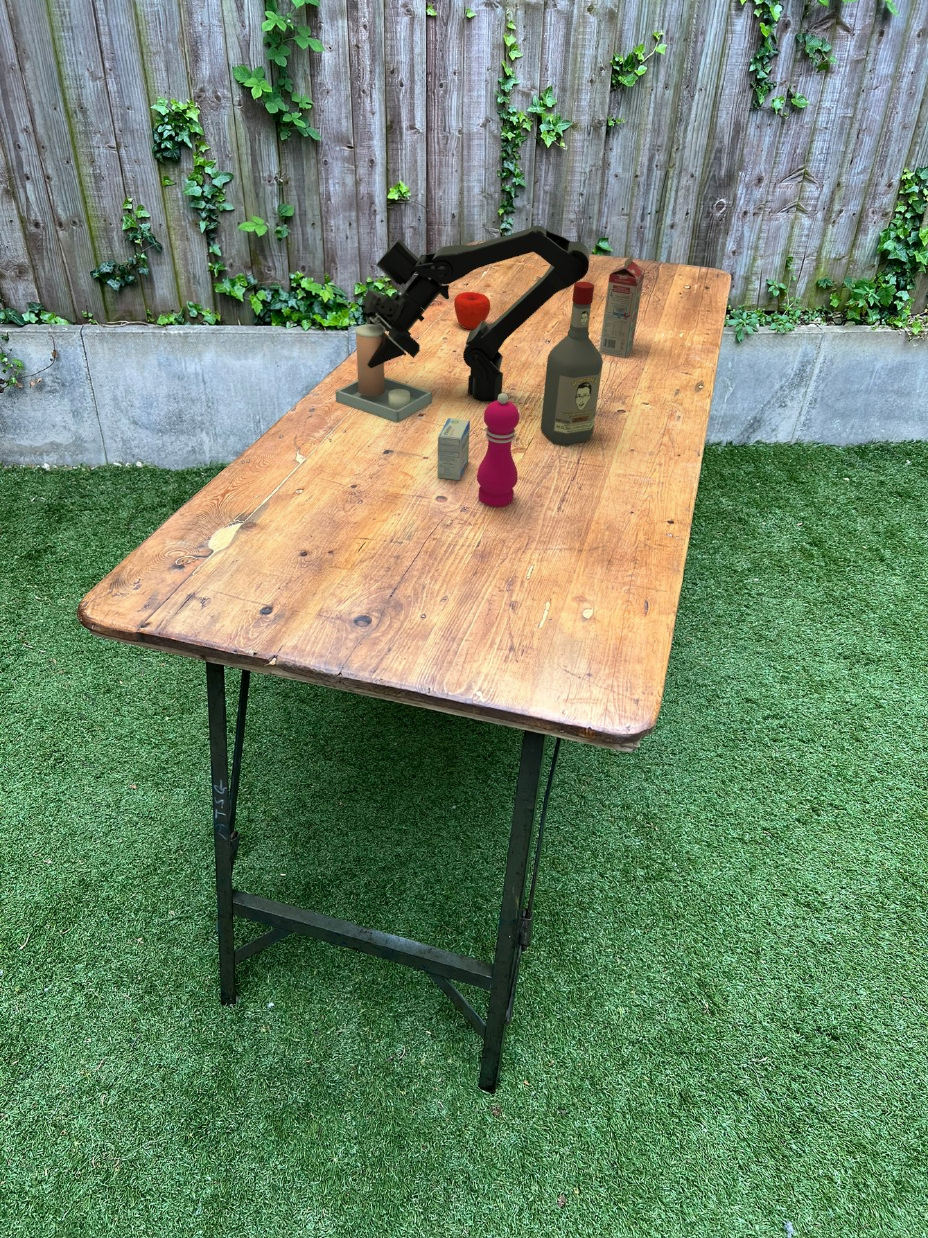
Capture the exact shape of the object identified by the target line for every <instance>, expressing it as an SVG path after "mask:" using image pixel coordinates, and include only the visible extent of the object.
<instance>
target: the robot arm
mask: <svg viewBox="0 0 928 1238" xmlns="http://www.w3.org/2000/svg"><path fill="white" fill-rule="evenodd" d="M530 253H531V254H532V253H534V254H536V255H537V256H539V257H541V258H542V259H543V260H544V261H545V262H546V263H548V264H549V265H550V266H548V268H547V270H546V272H545V273H544V274H543V275H542V277H540V278H539V279H538V280H537V281H536V282H535V283H534V284H533V285H532V286H531V287H530V288H528V290H526V291H525V292H524V293H523V294H522V295H521V296H520V297H519V298H518V299H517V300H516V301H515V302H514V303H513V304H512V305H511V306H510V307H508V308H507V310H505V312H503V313H502V314H500V316H499V317H498V318H497V319H495V321H493V322H491V323H489V324H486V322H485V321H483V320H482V321H481V323H480V324H479V325H478V327H477V328H476V329H473V330H471V331H469V333H468V336H467V339H466V342H465V347H464V350H463V351H462V358H463V361H464V363H465V364H466V366H468V367H469V368H470V374H469V375H468V381H467V394H468V395H469V396H471V397H472V398H473V399H474V400H476V401H479V402H487V403H488V402H490V403H492V402H494V401H497V400H498V396H499V394H501V393H503V383H504V382H503V381H504V378H503V377H504V372H503V371H501V367H502V362H503V358H504V356H503V355H502V353H501V352H500V351H499V350H500V348H501V347H502V345H503V344H504V343H505V341H506V340H507V339H508V338H509V337H510V336H511V335H513V333H515V331H517V329H519V327H521V326H522V325H523V324H524V323H525V322H527V320H529V319H530V318H531V317H532V316H533V315H534V314H535V313H536V312H537V311H538V310H539V309H541V307H543V306H544V304H546V303H547V302H548V301H549V300H550V299H551V298H552V297H553V296H554V295H555V294H557V293H559V292H561V291H564V290H565V289H567V288H570V287H571V286H574V284H575V283H576V282H580V280H582V279H584V277H586V275H587V273H588V272H589V269H590V249H589V248H588V247H587V245H585V244H584V242H580V241H573V240H572V241H571V240H570V239H568V238H566V237H565V236H562V235H560V234H557V233H554V232H552V231H550V230H548V229H546V228H544V226H541V225H539V224H537V225H533V226H531V227H530V228H526V229H524V230H520V231H517V232H513V233H510V234H507V235H504V236H501V237H496V238H494V239H490V240H487V241H483V242H480V243H477V244H468V245H467V244H456V245H447V246H442V247H440V248H439V249H437V250H436V252H432V253H426V254H420V256H419V257H418V256H417V255H416V254H415V253H413V252H412V251H411V250H410V248H408V247H407V244H405V242H403V241H402V239H400V238H398V239H397V240H396V241H395V242H394V244H392V246H390V247H388V249H387V250H386V251H385V253H384V254H383V255H382V256H381V257H380V259H379V260H378V261H377V262H376V264H375V266H376V267H377V268H378V269H380V271H382V273H384V275H385V276H387V277H388V278H389V279H390V280H391V281H392V282H393V283H394V284H395V285H399V286H402V284H403V285H404V286H405V285H406V284H407V283H408V282H409V281H410V280H411V278H412V277H413V276H414V275H415V274H416V273H417V275H415V277H414V278H413V279H412V280H411V281H410V283H409V284H408V285H407V287H406V288H405V289H404V290H403V292H402V293H401V294H400V293H399V292H397V293H394V294H393V295H392V296H388V295H387V294H383V293H381V292H378V291H376V290H373V289H370V288H368V289H367V291H366V293H365V297H364V298H363V301H362V306H364V308H363V309H362V310H363V312H364V313H365V314H366V317H365V320H366V323H367V324H373V325H378V326H381V327H382V328H383V330H384V333H383V332H382V343H381V344H380V346H379V347H378V349H377V350H376V352H375V353H374V355H373V356H372V358H371V359H370V361H369V363H368V366H369V367H370V368H373V367H375V366H378V365H380V364H382V363H384V364H385V363H386V362H389V361H391V360H393V359H396V358H399V357H402V356H404V357H405V356H406V355H407V353H408V355H409V356H410V357H412V358H413V359H414V358H416V356H417V355H418V354H419V353H420V348H421V345H420V343H418V342H417V341H416V340H415V338H413V337H412V333H411V332H410V330H411V328H413V326H414V325H415V324H416V323H417V322H418V321H419V322H423V321H424V319H425V316H423V315H424V313H425V312H426V310H428V308H430V306H431V305H432V303H433V302H434V301H435V300H436V299H437V298H438V297H439V295H440V296H441V297H442V298H443V299H445V300H449V299H450V295H449V290H450V289H449V288H450V284H452V283H454V282H457V281H458V280H460V279H463V278H464V277H466V275H469V274H470V273H472V272H474V271H475V270H477V269H480V268H482V267H486V266H490V265H492V264H496V263H500V262H503V261H507V260H511V259H513V258H516V257H517V258H518V257H520V256H523V255H527V254H530ZM367 315H368V316H369V317H368V316H367ZM386 332H387V333H388V334H387V333H386Z"/></svg>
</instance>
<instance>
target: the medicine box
mask: <svg viewBox="0 0 928 1238" xmlns="http://www.w3.org/2000/svg"><path fill="white" fill-rule="evenodd" d="M470 427H471V421H470V420H467V419H459V418H449V417H448V418H447V419H446V422H445V424H444V425H443V427H442V429H441V431H440V433H439V434H438V436H437V467H436V469H437V472H436V473H437V476H436V477H437V478H439V479H445V480H451V481H452V480H454V481H460V480H461V479H462V477H463V475H464V473H465V470H466V468H467V465H468V463H469V458H470V457H469V453H470V451H469V450H470V434H471V433H470V432H471V431H470V429H471V428H470Z"/></svg>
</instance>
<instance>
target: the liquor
mask: <svg viewBox="0 0 928 1238" xmlns="http://www.w3.org/2000/svg"><path fill="white" fill-rule="evenodd" d="M594 290H595V285H594V283H592V282H589V281H578V282H576V283H574V284H573V292H572V300H571V302H572V308H571V314H570V315H571V316H570V324H569V329H568V331H567V335H566V336H565V337H563V339H561V340H560V341H559V342H558V343H557V344H556V345H554V347H552V348H551V350H550V351H549V354H548V356H547V361H546V363H547V364H546V371H545V372H546V373H545V382H544V391H543V399H542V400H543V402H542V410H541V420H540V421H541V422H540V431H541V432H542V434H543V435H544V436H545V437H546V438H547V439H548V440H549V441H550V442H552V444H555V445H559V446H565V447H567V446H574V445H579V444H584V443H588V442H589V440H590V439H591V438H592V436H593V434H594V429H595V428H594V426H595V422H596V421H595V420H596V414H597V406H598V400H599V399H598V398H599V393H600V385H601V378H602V372H603V363H604V361H603V356H602V354H600V353H599V349H598V348H597V347H596V346H595V344H594V343H593V341H592V340H591V339H590V337H589V336H590V331H589V325H590V317H591V310H592V309H591V308H592V304H593V301H594V300H593V299H594Z"/></svg>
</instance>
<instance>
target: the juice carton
mask: <svg viewBox="0 0 928 1238" xmlns="http://www.w3.org/2000/svg"><path fill="white" fill-rule="evenodd" d="M633 259H634V253H631V254H630V255H629V257H628V258H627V259H626V260H625V261H624V263H621V264H619V265H617V266H615V268H614V269H613V270H612V271H611V272H610V273H609V277H608V278H609V279H608V283H607V284H608V285H607V290H606V298H605V306H604V312H603V313H604V314H603V319H602V326H601V333H600V341H599V349H598V351H599V353H600V354H601V355H605V356H610V357H611V356H612V357H615V358H622V359H627V357H628V356H629V354H630V353H631V352H632V350H633V347H634V341H635V336H636V335H635V334H636V329H637V323H638V315H639V310H640V303H641V298H642V297H641V296H642V290H643V285H644V278H645V270H644V268H642V267H641V266H639V265H638V264H637V263H635V262H634V261H633Z"/></svg>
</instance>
